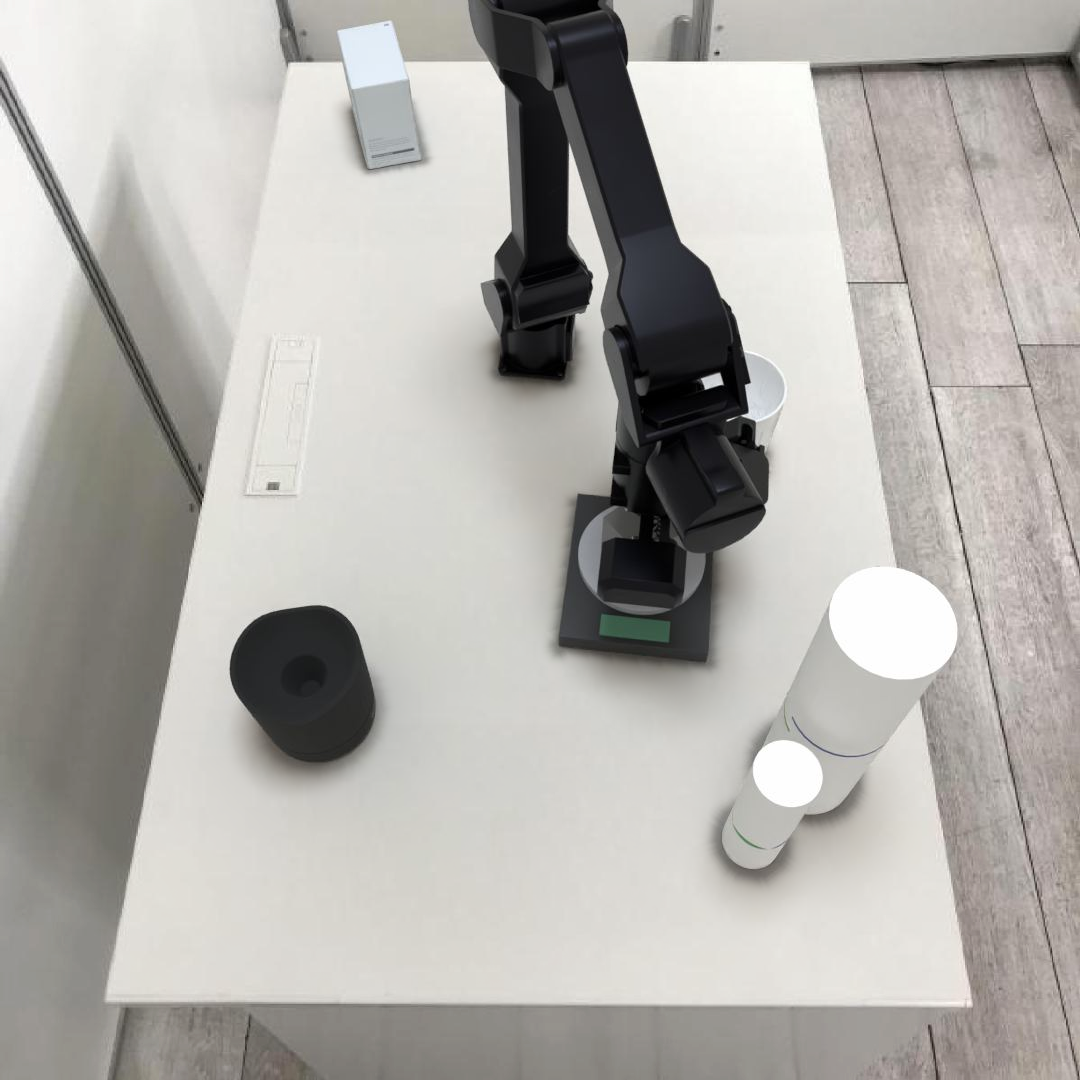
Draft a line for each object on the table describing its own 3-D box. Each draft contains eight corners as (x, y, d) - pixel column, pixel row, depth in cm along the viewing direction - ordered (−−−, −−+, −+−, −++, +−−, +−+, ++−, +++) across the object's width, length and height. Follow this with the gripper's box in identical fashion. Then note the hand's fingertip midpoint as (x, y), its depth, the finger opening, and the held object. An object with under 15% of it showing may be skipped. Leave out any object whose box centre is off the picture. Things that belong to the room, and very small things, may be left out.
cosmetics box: (351, 112, 123) (334, 27, 114) (406, 102, 124) (394, 18, 115) (365, 171, 118) (349, 87, 109) (422, 161, 119) (411, 77, 110)
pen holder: (332, 791, 81) (306, 745, 73) (238, 730, 84) (202, 679, 76) (404, 694, 85) (387, 639, 77) (312, 638, 88) (286, 580, 80)
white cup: (762, 498, 95) (783, 429, 86) (674, 484, 96) (686, 414, 87) (771, 428, 99) (791, 356, 90) (686, 415, 100) (698, 343, 91)
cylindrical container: (793, 831, 79) (880, 700, 58) (740, 749, 83) (804, 598, 61) (871, 787, 81) (984, 645, 59) (816, 709, 84) (904, 548, 63)
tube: (717, 813, 80) (747, 743, 67) (773, 808, 80) (814, 737, 67) (727, 871, 78) (760, 810, 65) (785, 866, 78) (829, 803, 65)
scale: (558, 646, 87) (558, 632, 85) (577, 504, 95) (578, 487, 92) (705, 662, 86) (709, 648, 84) (713, 517, 94) (717, 501, 91)
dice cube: (640, 590, 87) (645, 559, 83) (601, 549, 89) (603, 517, 85) (685, 556, 89) (692, 524, 84) (645, 517, 91) (650, 484, 86)
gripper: (770, 560, 69) (736, 660, 83) (775, 342, 79) (743, 464, 92) (599, 542, 70) (593, 644, 84) (624, 329, 80) (615, 452, 93)
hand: (642, 547), depth 88 cm, fingers closed on dice cube, 6 cm apart
